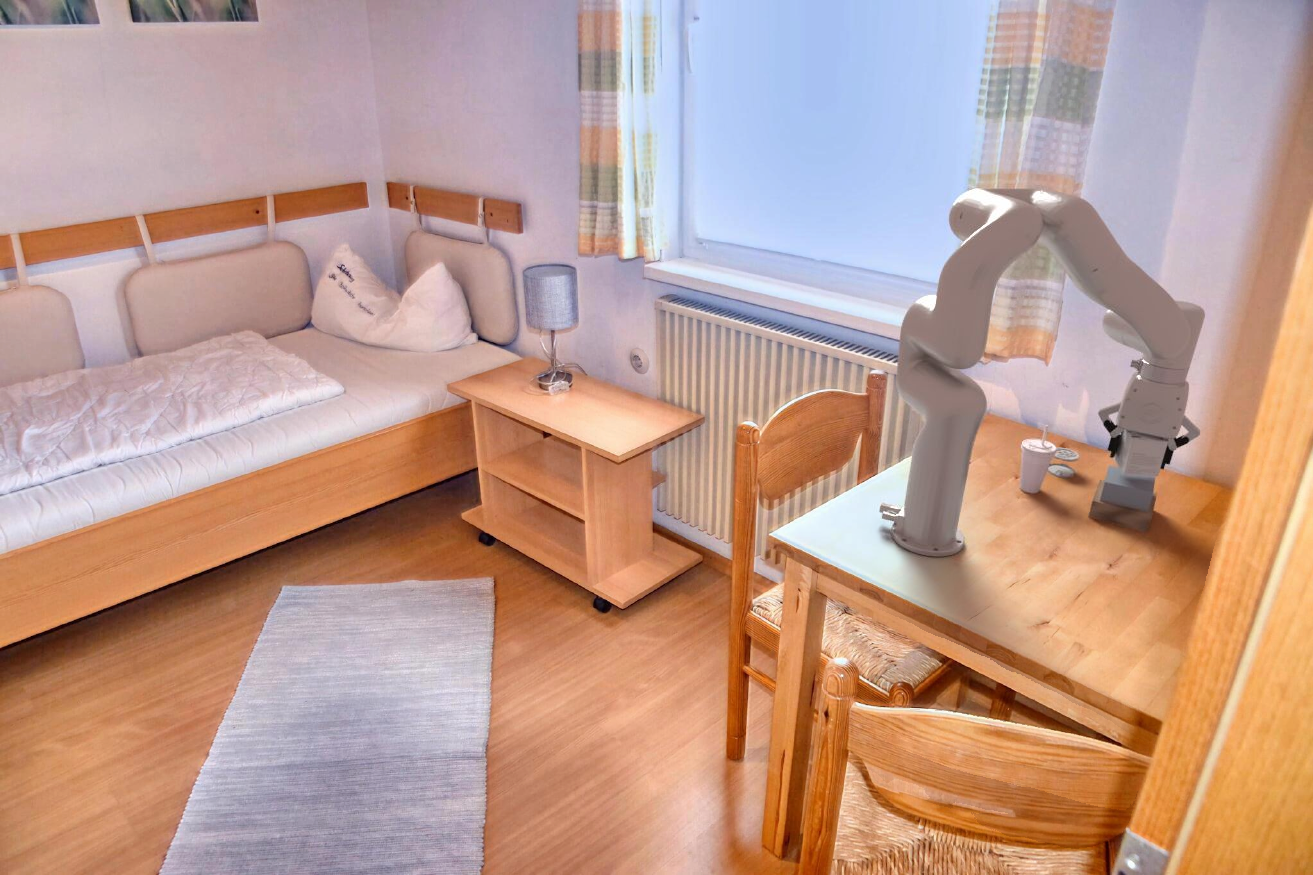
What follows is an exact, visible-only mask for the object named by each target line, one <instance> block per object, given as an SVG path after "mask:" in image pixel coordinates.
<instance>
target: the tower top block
mask: <svg viewBox="0 0 1313 875" xmlns="http://www.w3.org/2000/svg"><path fill="white" fill-rule="evenodd" d="M1156 477H1157V476H1146V475H1130V474H1124V473H1123V472H1122V470H1121V469H1120V468H1119V466H1115V465H1110V464H1108V468H1107V471H1106V475H1105V479H1104V481H1105V482H1104V486H1103V490H1102V494H1101V498H1100V501H1104V502H1108V503H1112V504H1116V505H1121V506H1125V507H1129V508H1133V509H1138V510H1142V511H1146V512H1148V509H1149V506H1150V502H1151V499H1152V495H1153V492H1154V490H1155V484H1156Z"/></svg>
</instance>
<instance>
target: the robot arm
mask: <svg viewBox="0 0 1313 875" xmlns="http://www.w3.org/2000/svg"><path fill="white" fill-rule="evenodd" d="M948 215H949V216H948V223H949V227H950V230H951V232H952V233H953V235H955V237H956V238H957V239H959V240H961V241H962V242H963V243H962V244H961V245H960V246H959V247H957V249H955V251H953V253H952V254H951V255H950V256H949V258H947V260H946V262H945V263H944V265H943V266H942V269H941V271H940V275H939V278H938V284H937V289H936V290H937V291H936V294H930V295H926V296H923V297H921V298H919V299H917V300H916V301H915V302H914V303H913V304H911V306H910V307H909V309H907V311H906V314H905V315H904V317H903V320H902V324H901V327H900V335H899V342H898V345H899V346H898V355H897V367H896V387H897V391H898V394H899V397H900V398H901V399H902V400H903V401H904V402H905V403H906V404H907V405H908V406H909V407H911V408H912V409H913V410H914V411H916V412H917V413H918V414H919V415H920V416H922V417H923V418H924V426H923V427H922V429H921V430H920V432H919V433H918V434H917V436H916V438H915V440H914V444H913V447H912V453H911V458H910V459H911V462H910V467H909V473H908V474H909V475H908V480H907V487H906V492H905V499H904V504H903V505H904V506H902V505H899V506H895V505H892V504H889V503H886V502H884V501H882V502H881V504H880V505H879V513H880V514H881V519H883V520H887V521H891V522H893V523H892V525H891V530H890V535H891V536H892V539H893V540H894V542H895V543H896V544H898V545H899V546H900V547H902V548H903V549H905V550H907V551H910V552H912V553H913V554H914V553H915V554H917V555H922V556H927V557H948V556H952V555H954V554H957V553H959V552H960V551H961V550H962V549H963V547H964V544H965V535H964V533H963V532H962V530H960V529H959V528H958V526H959V520H960V516H961V510H962V506H963V501H964V500H963V499H964V495H965V490H966V486H967V478H968V473H969V469H970V464H971V458H972V453H973V449H974V446H975V441H976V438H977V435H978V433H979V431H980V428H981V425H982V423H983V421H984V420H985V419H984V418H985V415H986V413H987V408H988V401H987V397H986V394H985V392H984V390H983V388H982V387H981V385H980V384H978V383H977V382H976V381H975V380H974V379H973V378H971V377H970V376H969V375H967V374H965V373H963V372H962V371H960V370H968V369H971V368H973V367H975V366H976V365H977V364H978V363H979V362H980V361H981V360H982V358H983V356H984V354H985V351H986V347H987V342H988V336H989V328H990V322H991V315H992V309H993V308H992V307H993V300H994V296H995V292H996V291H995V290H996V288H997V284H998V282H999V280H1000V278H1001V276H1002V275H1003V273H1005V271H1006V270H1007V269H1008V268H1009V267H1010V266H1011V265H1012V264H1013V263H1015V262H1016V261H1017V260H1018V259H1019V258H1021V257H1022V256H1024V255H1025V254H1026V253H1028V252H1029V251H1030V250H1031V249H1032V248H1033V247H1034V246H1035V245H1036V244H1039V245H1041V246H1043V247H1045V248H1047V250H1048V251H1049V252H1050V253H1051V255H1052V257H1053V258H1055V260H1056V261H1057V263H1058V264H1059V266H1061V268H1062V269H1063V271H1064V272H1065V274H1067V276H1068V278H1069V279H1070V281H1071V282H1072V283H1073V284H1074V286H1075V287H1076V288H1077V290H1079V291H1080V292H1081V293H1082V294H1083V295H1085V296H1086V297H1088V298H1089V299H1090V300H1091V301H1093V302H1095V303H1097V304H1098V305H1100V306H1101V307H1103V308H1105V309H1106V311H1105V313H1104V315H1103V317H1102V318H1103V319H1102V328H1103V330H1104V333H1105V334H1106V335H1107V336H1108V337H1109V338H1110V339H1112V340H1113V341H1115V342H1116V343H1119V344H1122V345H1123V346H1125V347H1128V348H1130V349H1134V350H1135V351H1137V352H1139V353H1141V354H1142V355H1141V356H1142V357H1141V358H1139V359H1137V360H1135V359H1131V362H1130V365H1129V367H1130V368H1134V369H1136V371H1135V372H1134V373H1132V375H1131V377H1130V379H1129V381H1128V383H1127V385H1126V388H1125V390H1124V393H1123V395H1122V399H1121V401H1120V402H1117V403H1115V404H1112V405H1109V406H1106V407H1103V408H1101V409H1099V411H1098V413H1097V414H1098V416H1099V418H1100V420H1101V422H1102V425H1103V427H1104V428H1105V429H1106V431H1107V432H1108V434H1109V437H1110V440H1109V444H1108V447H1107V450H1106V451H1109V452H1110V454H1109V458H1111V459H1114V456H1115V453H1116V449H1117V446H1118V442H1119V439H1120V434H1121V432H1123V431H1124V430H1129V431H1133V432H1137V433H1142V434H1147V435H1151V436H1156V437H1161V438H1165V439H1166V440H1167V441H1168V444H1167V448H1166V451H1165V454H1164V457H1163V461H1162V464H1161V468H1160V470H1164V469H1165V467H1166V465H1169V466H1170V465H1171V463H1172V462H1171V461H1172V458H1173V455H1174V451H1177V449H1179V448H1180V447H1183V446H1185V445H1187V444H1189V442H1191V441H1193V440H1194V439H1196V438H1198V437H1199V436H1201V430H1200V428H1199V427H1198V426H1196V425H1195V423H1193V422H1192V421H1191V419H1189V418H1188V417H1187V416H1186V415H1185V414H1186V409H1187V405H1188V401H1189V394H1190V383H1189V382H1188V381H1187V377H1188V373H1189V371H1190V368H1191V367H1190V366H1191V365H1192V361H1193V357H1194V355H1195V350H1196V347H1197V344H1198V341H1199V338H1200V334H1201V330H1202V328H1203V325H1204V321H1205V317H1206V313H1205V310H1204V309H1203V307H1202V306H1200V305H1199V304H1195V303H1193V302H1188V301H1184V300H1175V299H1174V298H1173V296H1171V295H1170V294H1169V293H1168V291H1166V289H1165V288H1164V287H1162V286H1161V285H1160V283H1158V282H1157V281H1155V280H1154V279H1153V278H1152V277H1151V276H1150V275H1149V274H1148V273H1146V271H1144V270H1143V269H1142V267H1140V266H1139V265H1138V264H1137V263H1135V262H1134V261H1133V260H1132V259H1131V258H1130V257H1128V255H1127V254H1126V253H1125V251H1124V250H1123V248H1122V247H1121V245H1120V244H1119V243H1118V241H1117V240H1116V238H1115V237H1114V235H1113V234H1112V232H1111V230H1109V228H1108V226H1107V224H1106V223H1105V222H1104V220H1103V219H1102V218H1101V216H1100V214H1099V213H1098V211H1097V210H1096V208H1094V206H1093V205H1092V204H1091V203H1090V202H1088V201H1087V200H1086V199H1084V198H1082V197H1080V196H1076V195H1074V194H1069V193H1064V192H1062V191H1061V192H1060V191H1058V190H1053V189H1050V188H1041V187H1040V188H1039V187H1038V188H1034V187H1033V188H1029V187H1028V188H1025V187H1024V188H1023V187H1022V188H990V187H989V188H983V187H982V188H974V189H972V190H969V191H966V192H965V193H963V194H962V195H960V196H959V197H958V198H957V199H955V202H954V203H953V204H952V206H951V208H950V211H949V214H948ZM1116 413H1117V416H1116V419H1115V420H1116V421H1115V423H1116V424H1115V423H1114V422H1113V420H1112V419H1111V417H1110V415H1113V414H1116ZM1182 427H1183V428H1184V429H1185V430H1186V431H1187V432H1186V434H1183V435H1181V436H1179V433H1180V431H1181V428H1182ZM1178 436H1179V437H1178Z"/></svg>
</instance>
